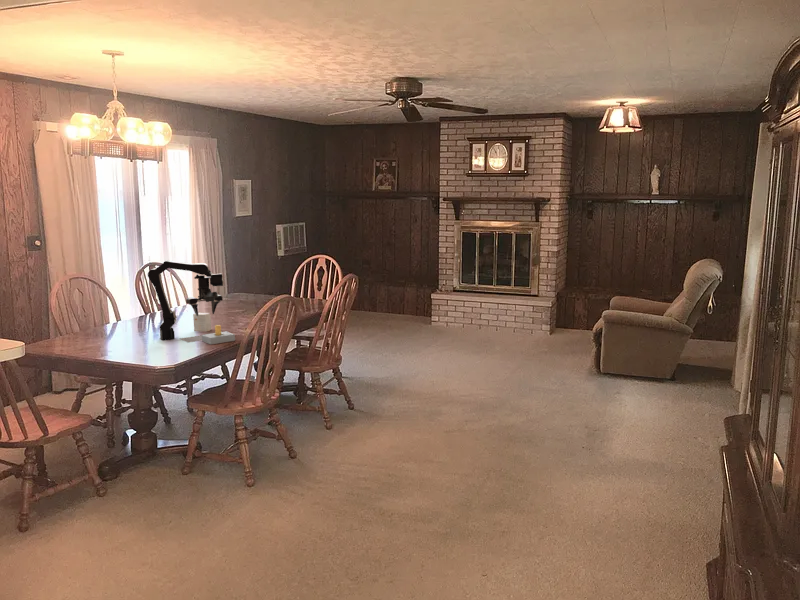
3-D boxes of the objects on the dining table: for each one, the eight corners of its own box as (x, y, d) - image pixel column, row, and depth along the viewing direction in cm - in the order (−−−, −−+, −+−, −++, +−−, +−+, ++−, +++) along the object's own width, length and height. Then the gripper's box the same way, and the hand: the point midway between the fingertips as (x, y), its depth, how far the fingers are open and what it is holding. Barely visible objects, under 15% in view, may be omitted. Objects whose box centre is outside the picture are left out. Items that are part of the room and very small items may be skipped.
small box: (211, 330, 383) (210, 312, 382) (206, 332, 378) (205, 314, 376) (199, 330, 385) (198, 312, 384) (193, 332, 380) (193, 313, 378)
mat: (188, 343, 352) (188, 342, 351) (179, 339, 360) (179, 338, 360) (212, 339, 360) (212, 338, 360) (203, 336, 369) (203, 334, 369)
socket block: (210, 345, 347) (210, 338, 346) (202, 342, 354) (201, 334, 354) (235, 341, 356) (234, 334, 355) (226, 338, 363) (226, 331, 363)
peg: (217, 342, 353) (216, 326, 352) (214, 341, 355) (214, 325, 354) (222, 341, 355) (221, 325, 354) (220, 341, 357) (219, 324, 356)
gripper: (193, 289, 348) (195, 319, 350) (226, 286, 360) (227, 314, 362) (184, 287, 356) (186, 316, 358) (217, 284, 368) (218, 312, 370)
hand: (205, 314), depth 362 cm, fingers open, 9 cm apart
